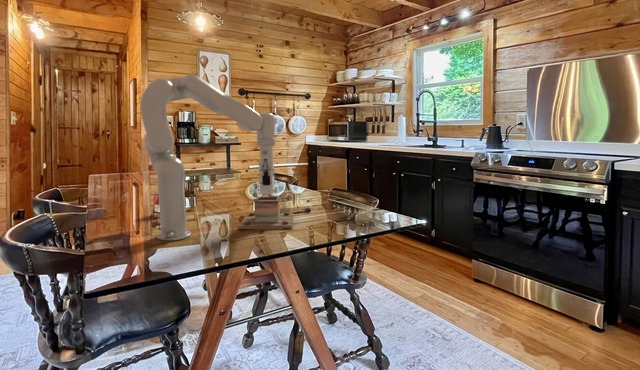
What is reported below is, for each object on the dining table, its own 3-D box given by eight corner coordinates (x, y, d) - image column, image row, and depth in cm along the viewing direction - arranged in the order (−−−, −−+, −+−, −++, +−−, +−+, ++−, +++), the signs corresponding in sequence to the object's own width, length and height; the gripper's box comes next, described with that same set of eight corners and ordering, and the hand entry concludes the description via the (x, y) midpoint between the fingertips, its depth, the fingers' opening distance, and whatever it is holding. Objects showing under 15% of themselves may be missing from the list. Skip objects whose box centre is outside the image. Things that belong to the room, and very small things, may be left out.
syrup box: (273, 194, 170) (272, 160, 168) (259, 194, 170) (258, 161, 168) (274, 191, 176) (274, 159, 173) (261, 192, 176) (260, 159, 174)
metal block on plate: (292, 228, 165) (291, 203, 163) (239, 229, 164) (238, 204, 162) (293, 216, 187) (293, 193, 185) (246, 216, 186) (245, 194, 184)
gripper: (273, 143, 161) (274, 187, 164) (276, 141, 178) (277, 180, 181) (254, 143, 161) (256, 187, 164) (259, 141, 178) (260, 180, 181)
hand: (267, 183), depth 172 cm, fingers closed on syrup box, 5 cm apart
